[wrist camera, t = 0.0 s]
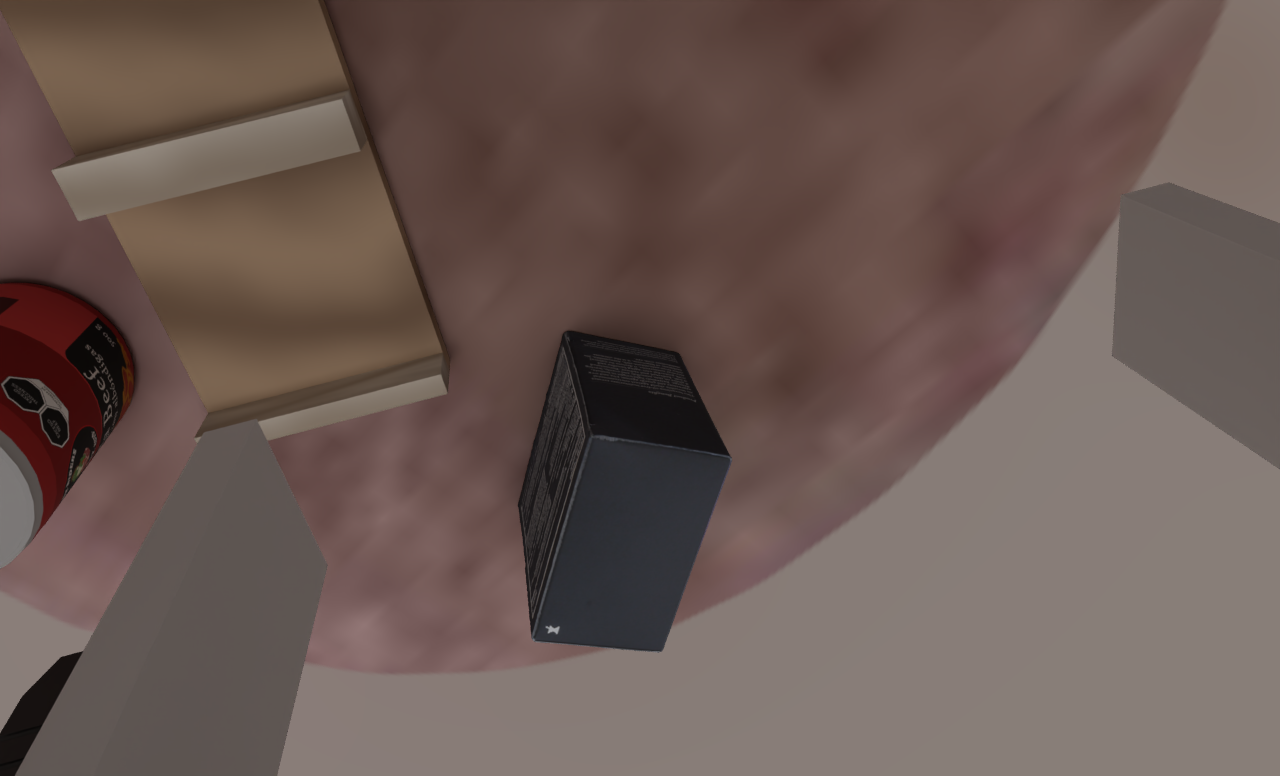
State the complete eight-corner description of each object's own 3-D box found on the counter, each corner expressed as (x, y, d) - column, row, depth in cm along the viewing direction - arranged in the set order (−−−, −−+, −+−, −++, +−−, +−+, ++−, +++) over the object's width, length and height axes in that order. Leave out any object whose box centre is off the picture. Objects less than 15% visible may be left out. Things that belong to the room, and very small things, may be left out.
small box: (632, 523, 49) (667, 661, 40) (515, 507, 47) (523, 646, 38) (688, 351, 45) (742, 461, 36) (561, 326, 43) (583, 434, 34)
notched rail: (-70, -162, 31) (-131, -172, 28) (242, -233, 31) (216, -251, 28) (224, 418, 42) (204, 457, 39) (450, 360, 43) (447, 393, 40)
